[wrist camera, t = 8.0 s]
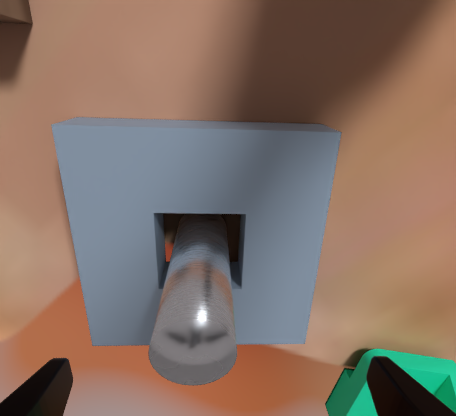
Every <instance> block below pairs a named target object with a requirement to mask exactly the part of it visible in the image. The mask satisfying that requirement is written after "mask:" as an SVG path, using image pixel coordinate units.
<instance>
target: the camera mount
mask: <svg viewBox="0 0 456 416" xmlns="http://www.w3.org/2000/svg"><path fill="white" fill-rule="evenodd" d="M373 356H386V357H388V358H390V359H391V360H392V361H393V362H395V363H396V364H397V365H398V366H399V367H401V368H402V369H403V370H404V371H405V372H407V373H408V374H409V375H410V376H411V377H413V378H414V379H415V380H416V381H417V382H419V383H420V384H421V385H422V386H423V387H425V388H426V389H427V390H428V391H429V392H431V393H432V394H433V395H434V396H435V397H437V398H438V399H439V400H440V401H441V402H443V403H444V404H445V405H446V406H447V407H449V408H450V409H451V410H452V411H453V412H455V413H456V364H455V362H454V361H453V360H447V359H441V358H435V357H428V356H422V355H416V354H409V353H403V352H396V351H390V350H384V349H372V350H369V351H367V352H366V353H365V354H364V355H363V356H362V357H361V359H360V361H359V363H358V365H357V366H356V368H355V369H351V368H344V369H343V371H342V373H341V375H340V377H339V378H338V380H337V382H336V384H335V386H334V388H333V390H332V392H331V393H330V395H329V397H328V399H327V401H326V403H325V405H326V408H327V411H328V414H329V416H378V415H377V412H376V409H375V406H374V403H373V400H372V396H371V393H370V390H369V387H368V384H367V379H366V376H367V371H368V368H369V365H370V362H371V359H372V357H373Z"/></svg>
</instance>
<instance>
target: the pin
mask: <svg viewBox="0 0 456 416" xmlns="http://www.w3.org/2000/svg"><path fill="white" fill-rule="evenodd" d="M236 357H237V346H236V334H235V322H234V310H233V298H232V286H231V274H230V262H229V250H228V239H227V227H226V223H225V220H224V219H223V217H222V216H221V215H220V214H198V213H186V214H185V215H184V216H183V217H182V218H181V220H180V222H179V226H178V230H177V234H176V238H175V242H174V247H173V251H172V255H171V259H170V263H169V267H168V271H167V276H166V280H165V284H164V288H163V292H162V296H161V301H160V305H159V309H158V313H157V317H156V321H155V325H154V330H153V334H152V338H151V342H150V346H149V360H150V362H151V365H152V366H153V368H154V369H155V370H156V371H157V372H158V373H159V374H160V375H161V376H162V377H164V378H166V379H167V380H170V381H172V382H175V383H178V384H182V385H202V384H207V383H211V382H214V381H216V380H218V379H220V378H221V377H223V376H224V375H226V374H227V373H228V372H229V371H230V370H231V368H232V367H233V365H234V364H235V361H236Z"/></svg>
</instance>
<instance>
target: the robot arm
mask: <svg viewBox="0 0 456 416" xmlns="http://www.w3.org/2000/svg"><path fill="white" fill-rule="evenodd" d="M366 379H367V384H368V387H369V390H370V393H371V396H372V400H373V403H374V406H375V409H376V412H377V415H378V416H456V413H455V412H453V411H452V410H451V409H450V408H449V407H447V406H446V405H445V404H444V403H443V402H441V401H440V400H439V399H438V398H437V397H435V396H434V395H433V394H432V393H431V392H429V391H428V390H427V389H426V388H425V387H423V386H422V385H421V384H420V383H419V382H417V381H416V380H415V379H414V378H413V377H411V376H410V375H409V374H408V373H407V372H405V371H404V370H403V369H402V368H401V367H399V366H398V365H397V364H396V363H395V362H393V361H392V360H391V359H390V358H388V357H386V356H373V357H372V359H371V362H370V365H369V368H368V371H367V376H366ZM72 383H73V376H72V372H71V368H70V364H69V360H68V359H67V358H53V359H51V360H50V361H48V362H47V363H46V364H45V365H44V366H43V367H42V368H40V369H39V370H38V371H37V372H36V373H35V374H34V375H32V376H31V377H30V378H29V379H28V380H26V381H25V382H24V383H23V384H22V385H21V386H20V387H18V388H17V389H16V390H15V391H14V392H13V393H12V394H10V395H9V396H8V397H7V398H6V399H4V400H3V401H2V402H1V403H0V416H63V413H64V410H65V406H66V404H67V400H68V397H69V394H70V391H71V387H72Z"/></svg>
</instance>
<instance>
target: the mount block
mask: <svg viewBox="0 0 456 416" xmlns="http://www.w3.org/2000/svg"><path fill="white" fill-rule="evenodd" d="M0 22H3V23H27V24H33V23H32V18H31V12H30V7H29V2H28V0H0Z"/></svg>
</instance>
